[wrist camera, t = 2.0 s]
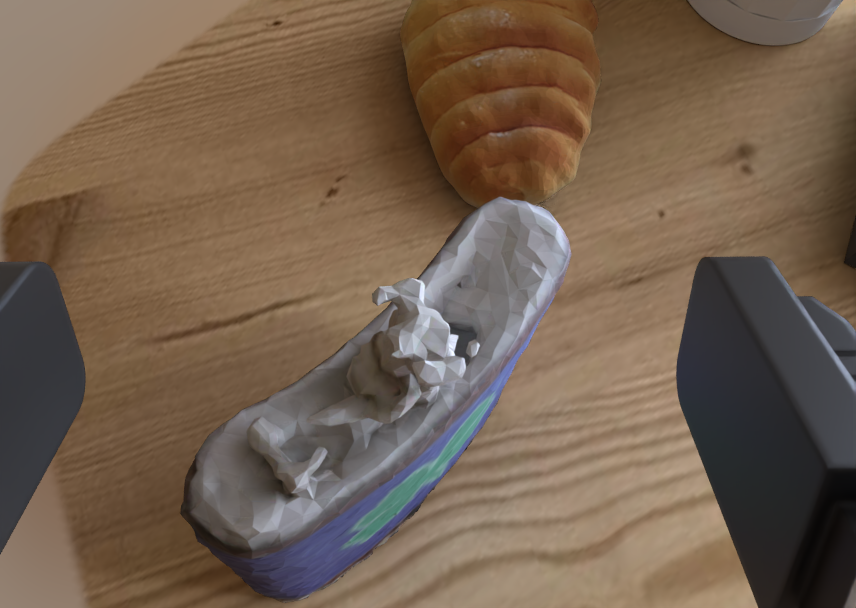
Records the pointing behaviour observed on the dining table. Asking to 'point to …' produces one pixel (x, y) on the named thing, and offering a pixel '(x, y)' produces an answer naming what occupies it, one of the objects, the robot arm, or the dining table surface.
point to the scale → (851, 248)
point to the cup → (767, 18)
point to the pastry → (503, 91)
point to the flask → (377, 411)
